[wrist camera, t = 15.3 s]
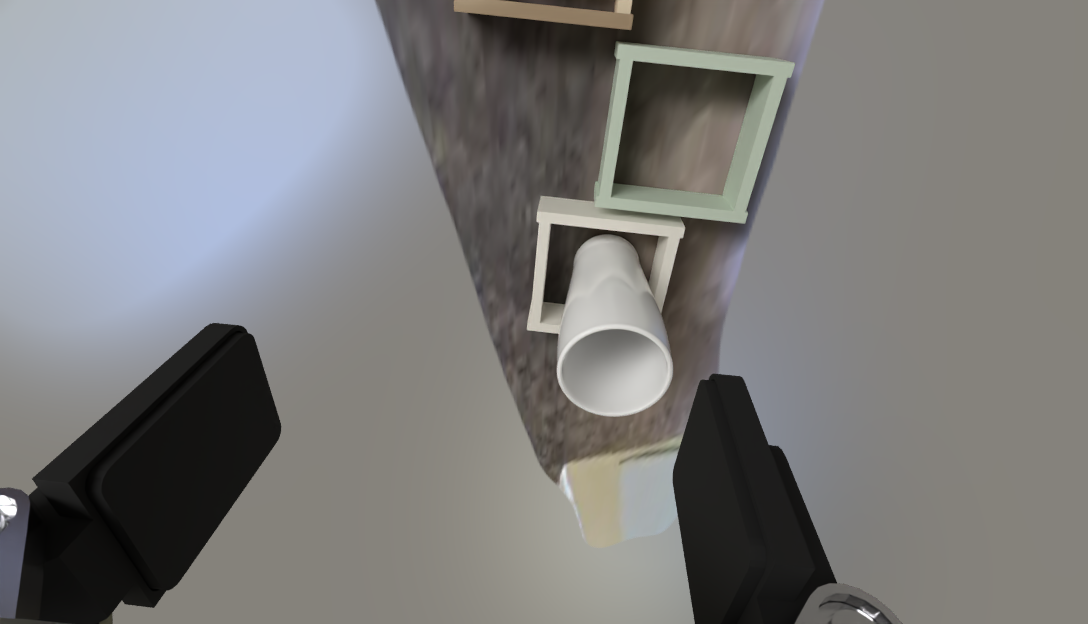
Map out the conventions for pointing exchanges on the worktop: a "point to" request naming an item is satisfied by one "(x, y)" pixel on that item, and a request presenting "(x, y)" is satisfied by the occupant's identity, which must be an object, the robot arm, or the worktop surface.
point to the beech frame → (551, 12)
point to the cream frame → (589, 216)
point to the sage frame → (746, 152)
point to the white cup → (612, 333)
